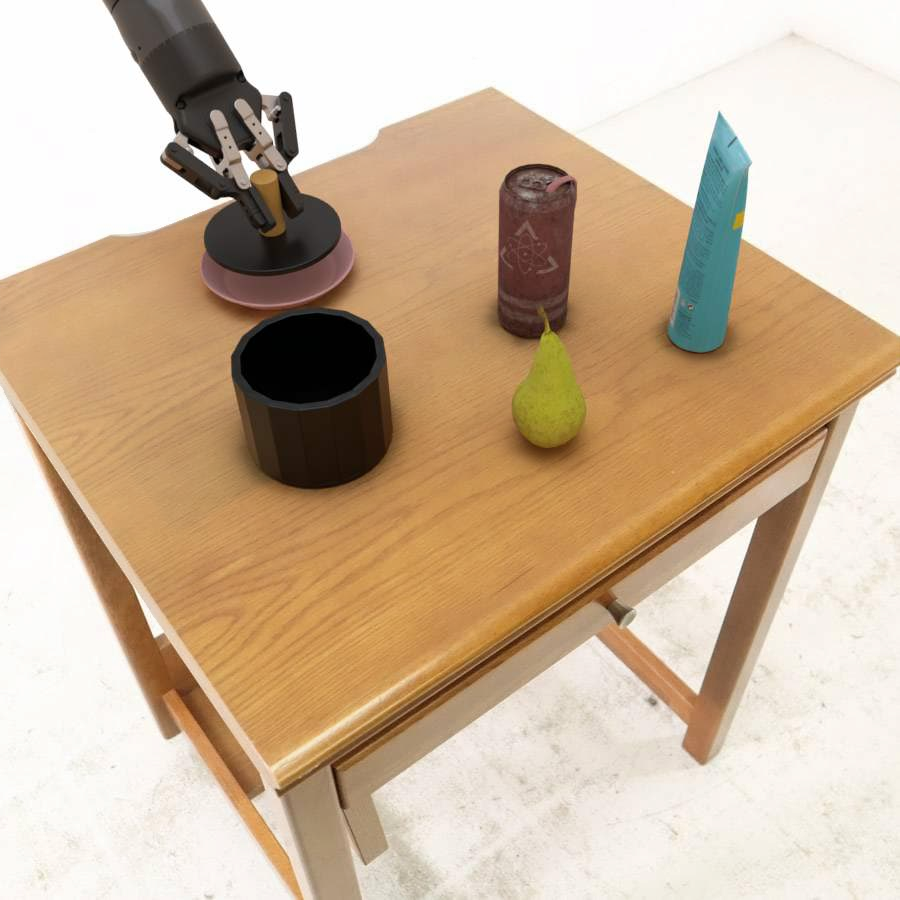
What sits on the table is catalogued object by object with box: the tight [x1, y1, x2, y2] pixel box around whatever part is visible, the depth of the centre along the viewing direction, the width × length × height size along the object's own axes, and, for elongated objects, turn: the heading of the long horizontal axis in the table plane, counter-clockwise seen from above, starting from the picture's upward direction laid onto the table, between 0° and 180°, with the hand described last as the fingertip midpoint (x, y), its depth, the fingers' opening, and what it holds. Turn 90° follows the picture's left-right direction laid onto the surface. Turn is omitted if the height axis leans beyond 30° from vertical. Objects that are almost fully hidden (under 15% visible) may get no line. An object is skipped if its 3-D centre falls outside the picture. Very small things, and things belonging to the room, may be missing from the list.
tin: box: [230, 306, 394, 490], centre depth 82 cm, size 11×11×8 cm
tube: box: [667, 110, 753, 353], centre depth 85 cm, size 7×5×19 cm, turn 13°
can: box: [497, 163, 578, 339], centre depth 89 cm, size 6×6×14 cm
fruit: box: [511, 306, 587, 449], centre depth 80 cm, size 6×6×12 cm
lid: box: [203, 169, 342, 276], centre depth 95 cm, size 12×12×7 cm
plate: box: [199, 228, 356, 311], centre depth 99 cm, size 14×14×2 cm
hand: (284, 221), depth 94 cm, fingers closed on lid, 2 cm apart
